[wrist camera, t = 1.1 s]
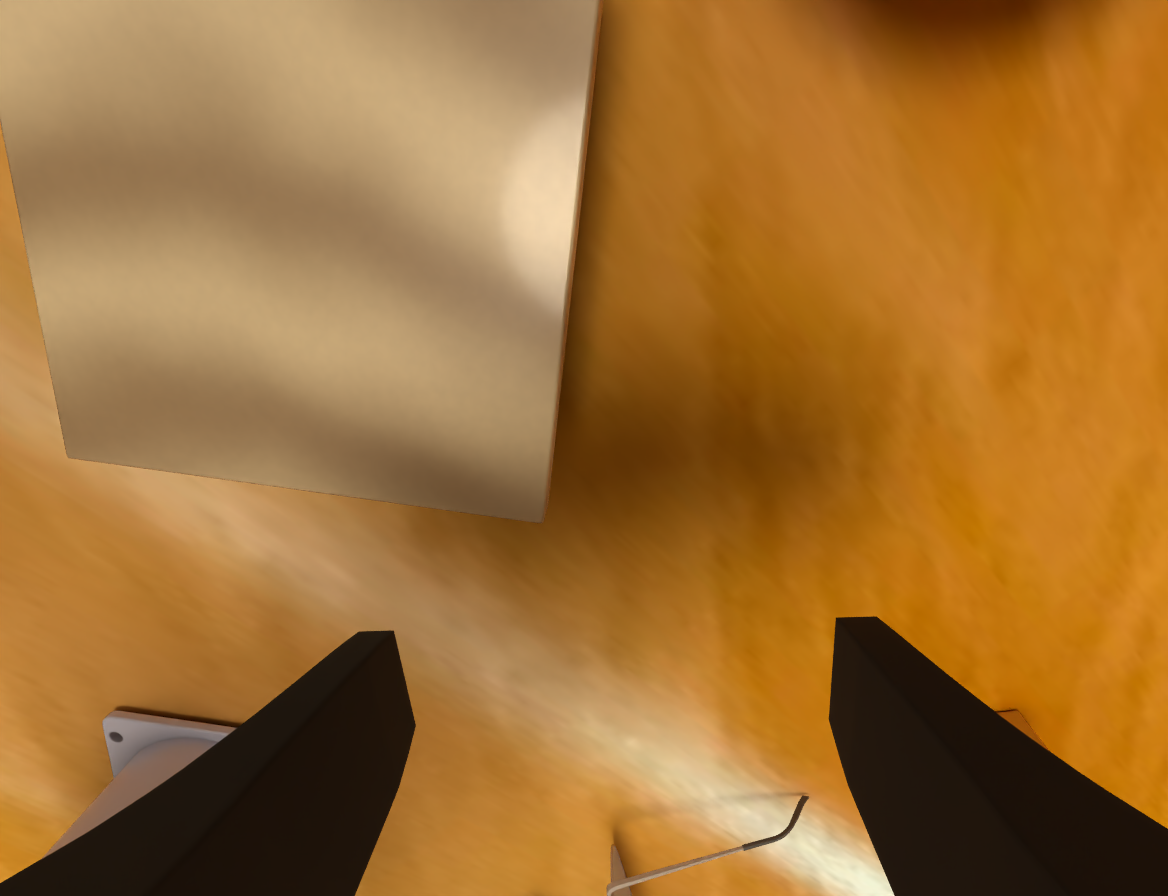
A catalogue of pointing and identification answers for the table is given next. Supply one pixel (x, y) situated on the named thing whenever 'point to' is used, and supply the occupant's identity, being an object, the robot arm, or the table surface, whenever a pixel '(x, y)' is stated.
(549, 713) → the table surface
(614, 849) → the eyeglasses
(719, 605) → the table surface
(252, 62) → the box
